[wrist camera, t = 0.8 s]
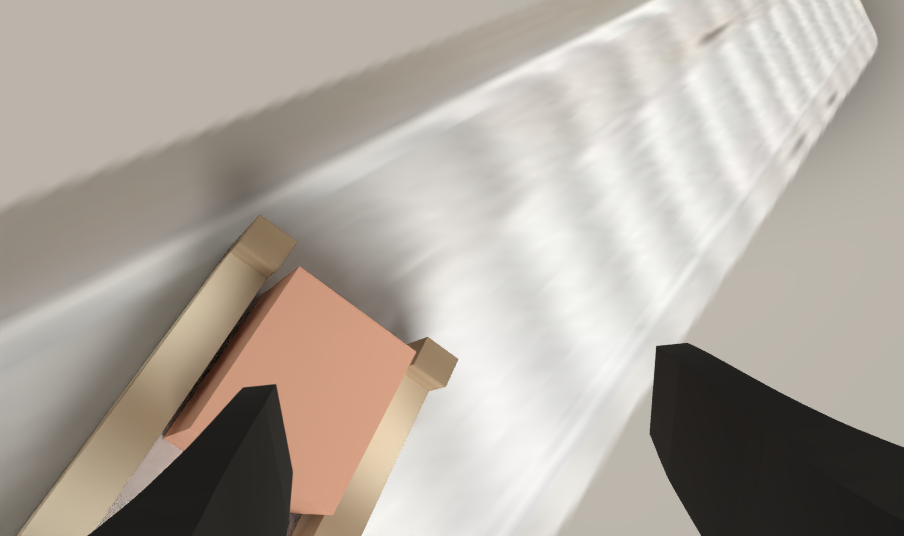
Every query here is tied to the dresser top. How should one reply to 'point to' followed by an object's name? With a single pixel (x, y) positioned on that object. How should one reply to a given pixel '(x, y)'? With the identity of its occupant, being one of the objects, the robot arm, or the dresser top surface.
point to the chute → (175, 373)
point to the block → (307, 383)
